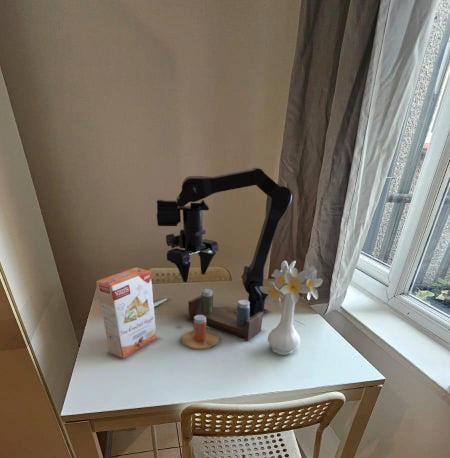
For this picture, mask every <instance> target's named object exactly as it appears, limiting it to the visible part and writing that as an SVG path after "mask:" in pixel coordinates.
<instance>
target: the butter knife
mask: <svg viewBox="0 0 450 458" xmlns="http://www.w3.org/2000/svg"><path fill="white" fill-rule="evenodd" d="M167 300H168V298H164V299H161V300H157V301H155V302H153V304H154V308H155V307H156V306H159V304H162V303H164V302H166V301H167Z"/></svg>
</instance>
